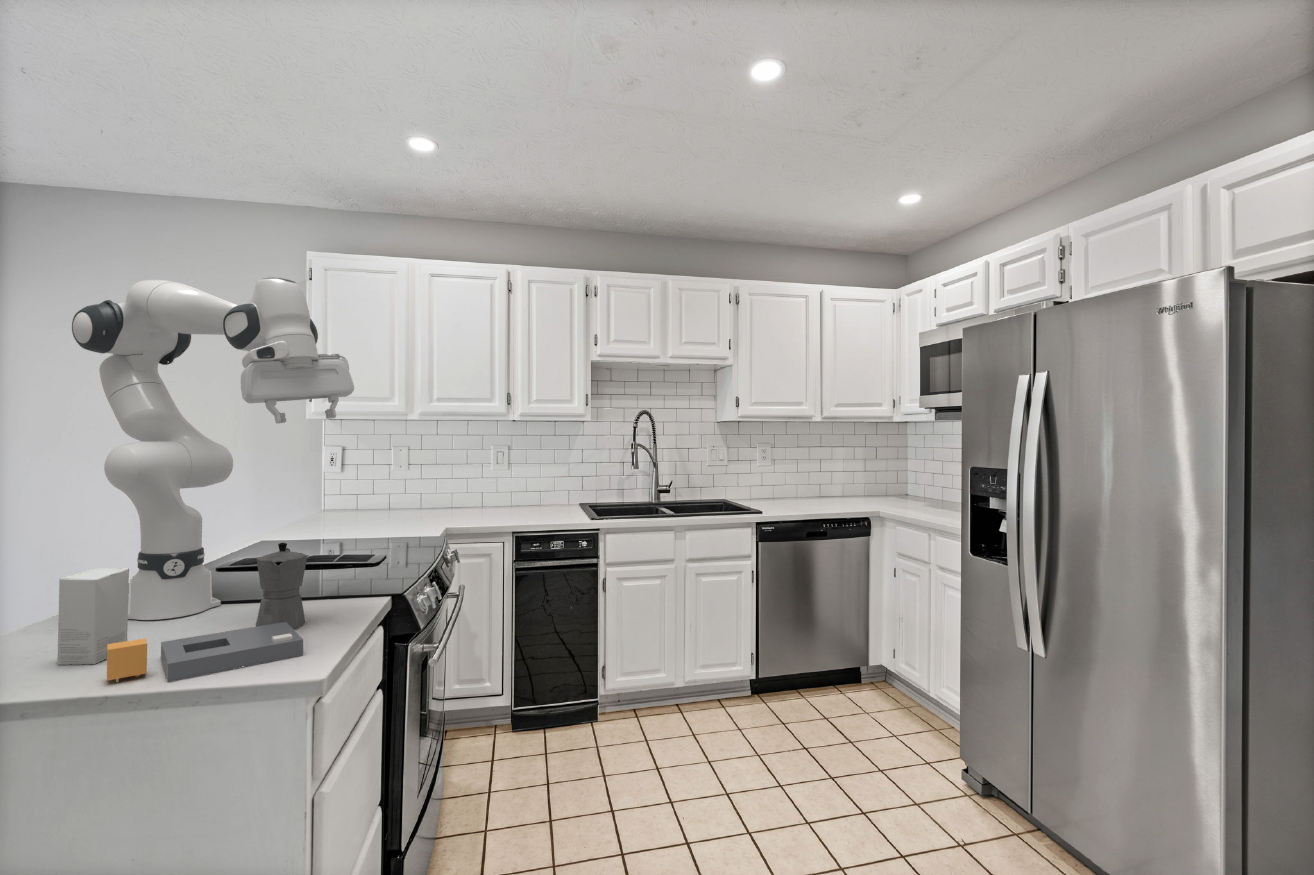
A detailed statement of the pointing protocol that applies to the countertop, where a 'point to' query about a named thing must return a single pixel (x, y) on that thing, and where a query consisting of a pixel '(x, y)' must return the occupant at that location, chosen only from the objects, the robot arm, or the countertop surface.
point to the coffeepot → (281, 587)
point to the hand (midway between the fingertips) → (307, 420)
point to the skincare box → (92, 614)
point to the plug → (126, 659)
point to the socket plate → (229, 650)
